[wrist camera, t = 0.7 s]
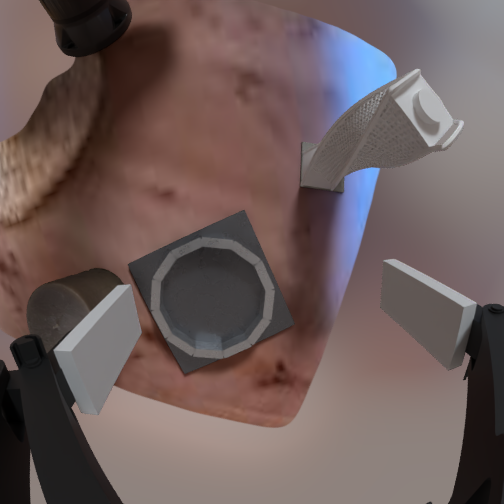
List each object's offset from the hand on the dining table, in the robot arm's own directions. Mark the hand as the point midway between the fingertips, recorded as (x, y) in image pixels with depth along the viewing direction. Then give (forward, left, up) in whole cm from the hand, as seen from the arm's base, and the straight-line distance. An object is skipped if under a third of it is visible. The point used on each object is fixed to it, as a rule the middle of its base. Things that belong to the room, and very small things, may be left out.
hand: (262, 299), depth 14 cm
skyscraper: (-7, +18, -28) cm, 33 cm away
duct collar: (+3, -4, -27) cm, 28 cm away
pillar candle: (-3, -20, -28) cm, 34 cm away
